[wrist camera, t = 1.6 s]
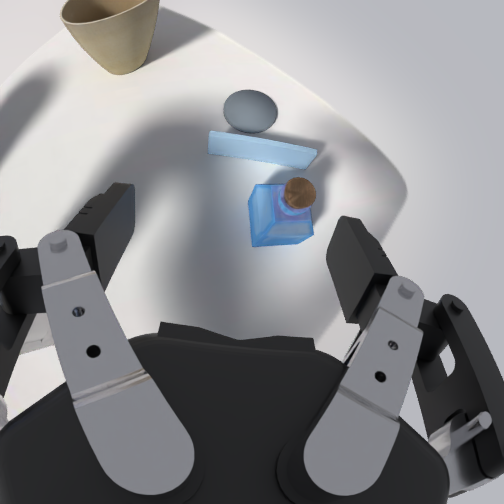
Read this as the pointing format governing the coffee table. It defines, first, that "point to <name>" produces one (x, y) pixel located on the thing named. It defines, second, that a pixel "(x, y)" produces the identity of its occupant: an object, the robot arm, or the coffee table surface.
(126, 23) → the plant pot
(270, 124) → the felt coaster
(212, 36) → the coffee table surface
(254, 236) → the perfume bottle
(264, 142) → the acrylic wall
